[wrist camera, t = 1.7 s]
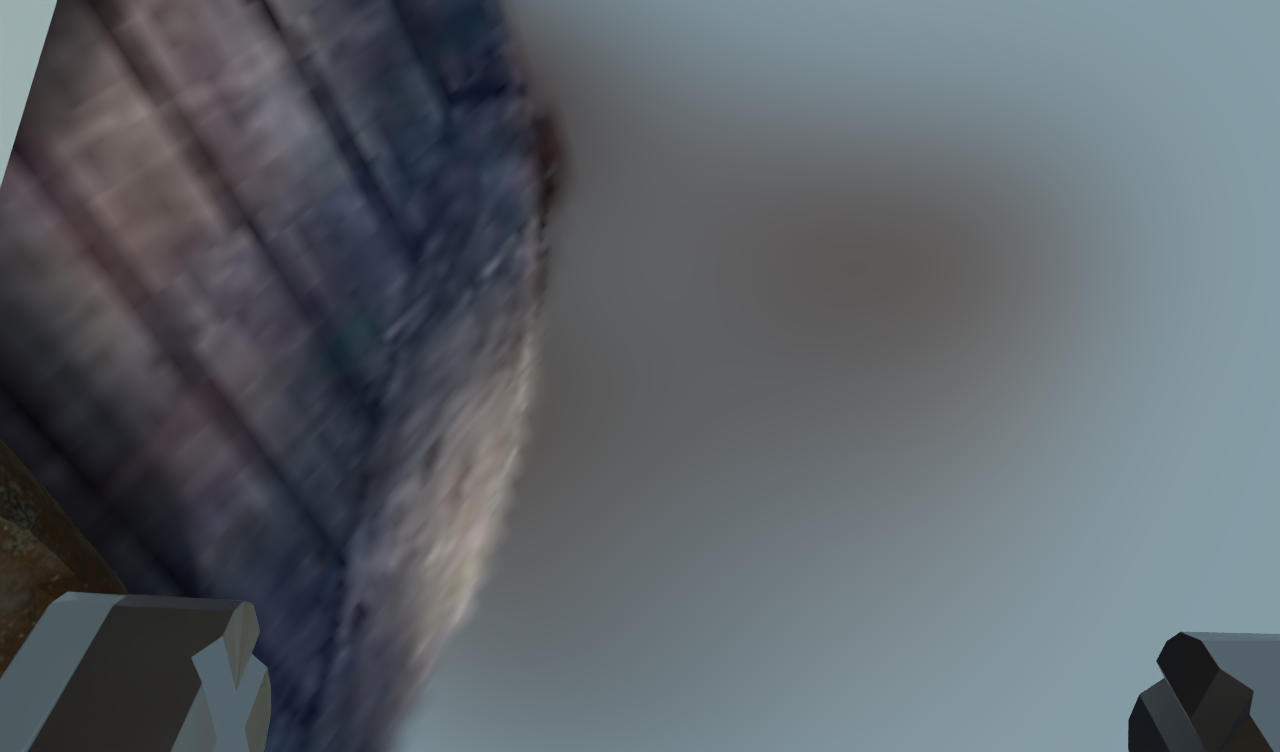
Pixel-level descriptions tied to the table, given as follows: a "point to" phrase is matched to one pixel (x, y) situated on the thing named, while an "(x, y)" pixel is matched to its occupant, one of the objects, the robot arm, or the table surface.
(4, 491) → the bread
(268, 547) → the table surface
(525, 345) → the table surface
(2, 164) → the painted base block
